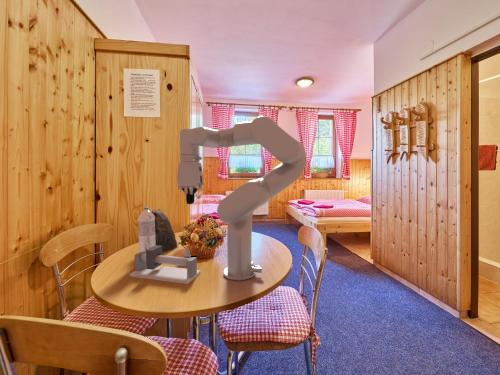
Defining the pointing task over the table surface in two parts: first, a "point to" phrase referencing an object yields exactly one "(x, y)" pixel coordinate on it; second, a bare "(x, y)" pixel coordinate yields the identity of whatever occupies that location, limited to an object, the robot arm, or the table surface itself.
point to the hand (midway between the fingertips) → (190, 203)
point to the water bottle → (146, 230)
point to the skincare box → (187, 251)
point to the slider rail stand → (166, 269)
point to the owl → (164, 231)
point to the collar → (153, 257)
